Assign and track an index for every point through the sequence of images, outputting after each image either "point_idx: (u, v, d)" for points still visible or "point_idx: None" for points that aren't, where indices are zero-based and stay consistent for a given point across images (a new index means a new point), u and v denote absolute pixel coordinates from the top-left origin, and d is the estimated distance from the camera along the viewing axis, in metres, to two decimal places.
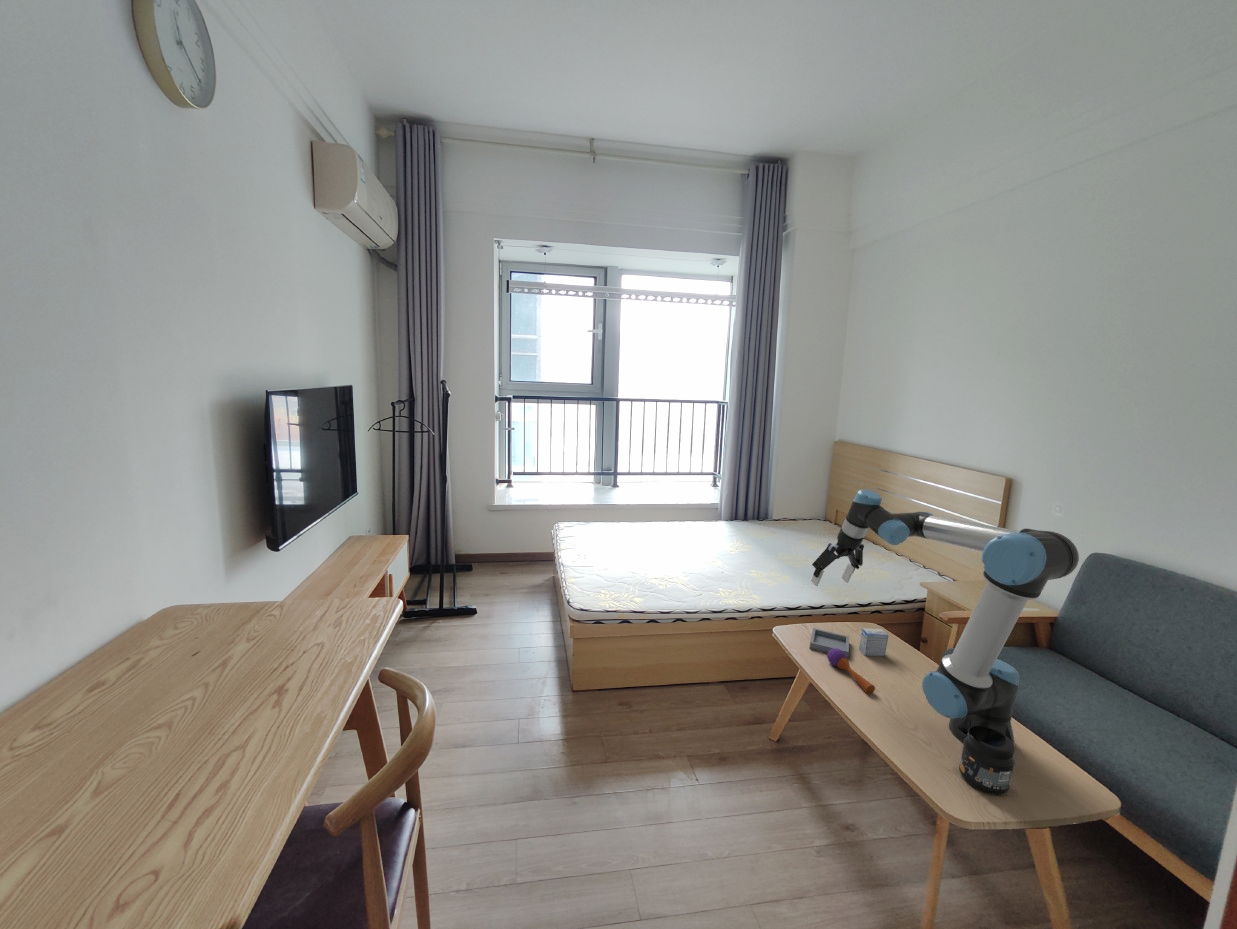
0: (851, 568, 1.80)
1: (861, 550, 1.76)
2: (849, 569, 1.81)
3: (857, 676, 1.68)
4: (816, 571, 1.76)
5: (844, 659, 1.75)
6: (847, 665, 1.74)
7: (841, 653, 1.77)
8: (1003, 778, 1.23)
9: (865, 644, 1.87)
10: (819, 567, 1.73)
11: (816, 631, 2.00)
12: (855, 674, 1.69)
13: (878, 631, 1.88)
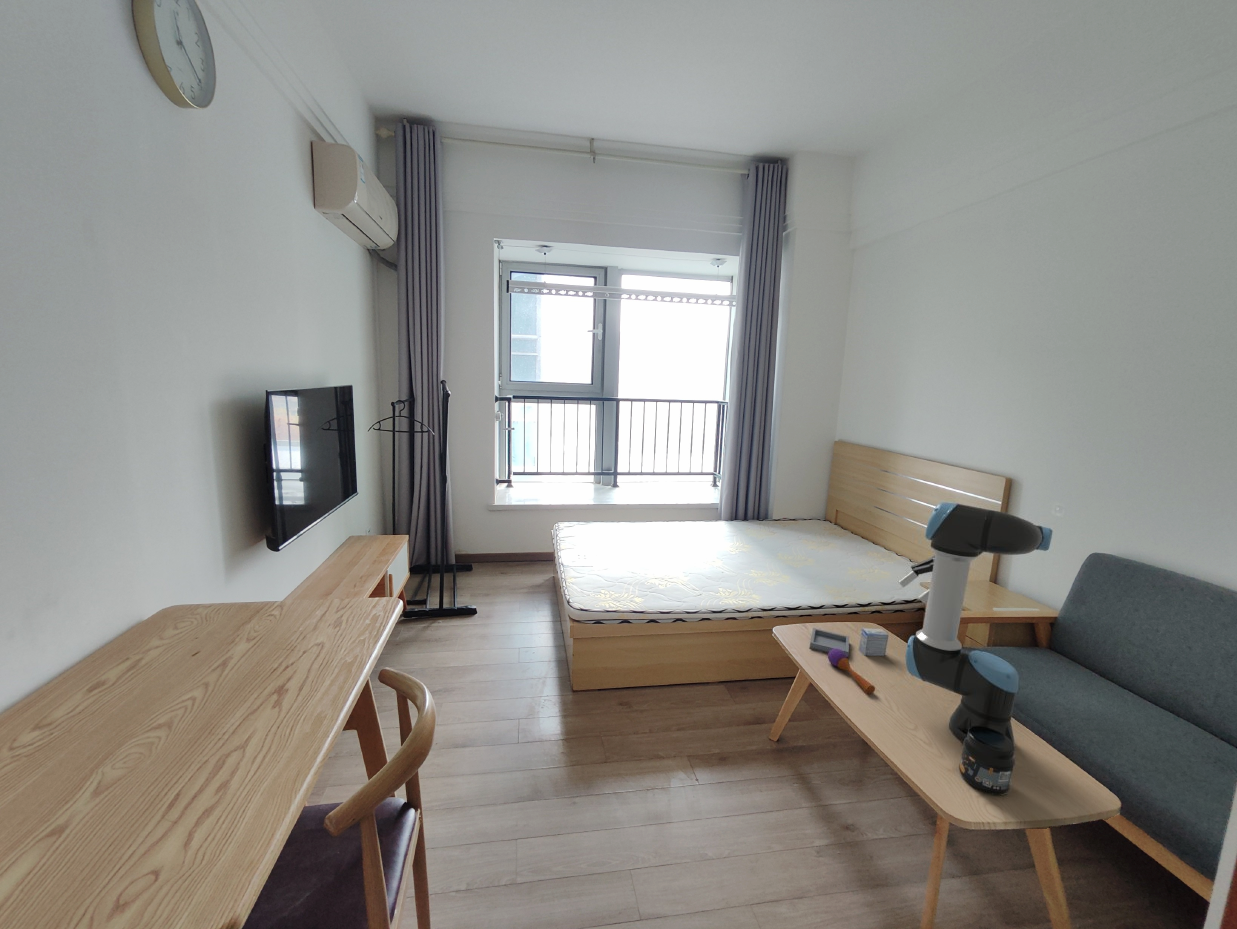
0: None
1: None
2: None
3: (857, 676, 1.68)
4: None
5: (844, 659, 1.75)
6: (847, 665, 1.74)
7: (842, 653, 1.77)
8: (1003, 778, 1.23)
9: (865, 644, 1.87)
10: (913, 565, 1.93)
11: (816, 631, 2.00)
12: (855, 674, 1.69)
13: (878, 631, 1.88)
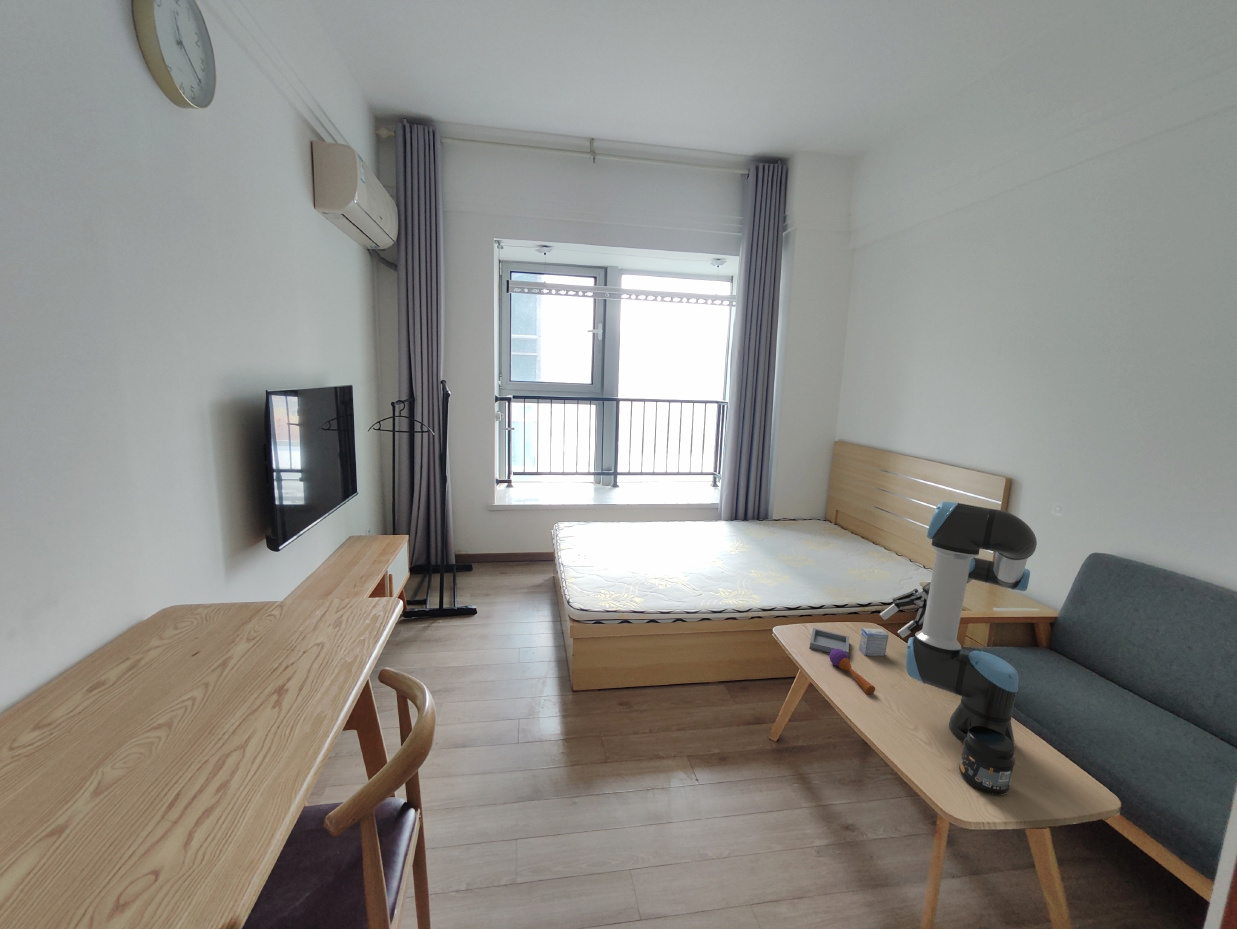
0: None
1: None
2: None
3: (858, 676, 1.68)
4: None
5: (846, 659, 1.75)
6: (848, 665, 1.73)
7: (843, 653, 1.77)
8: (1003, 778, 1.23)
9: (865, 644, 1.87)
10: (894, 598, 1.96)
11: (816, 631, 2.00)
12: (856, 674, 1.69)
13: (878, 631, 1.88)
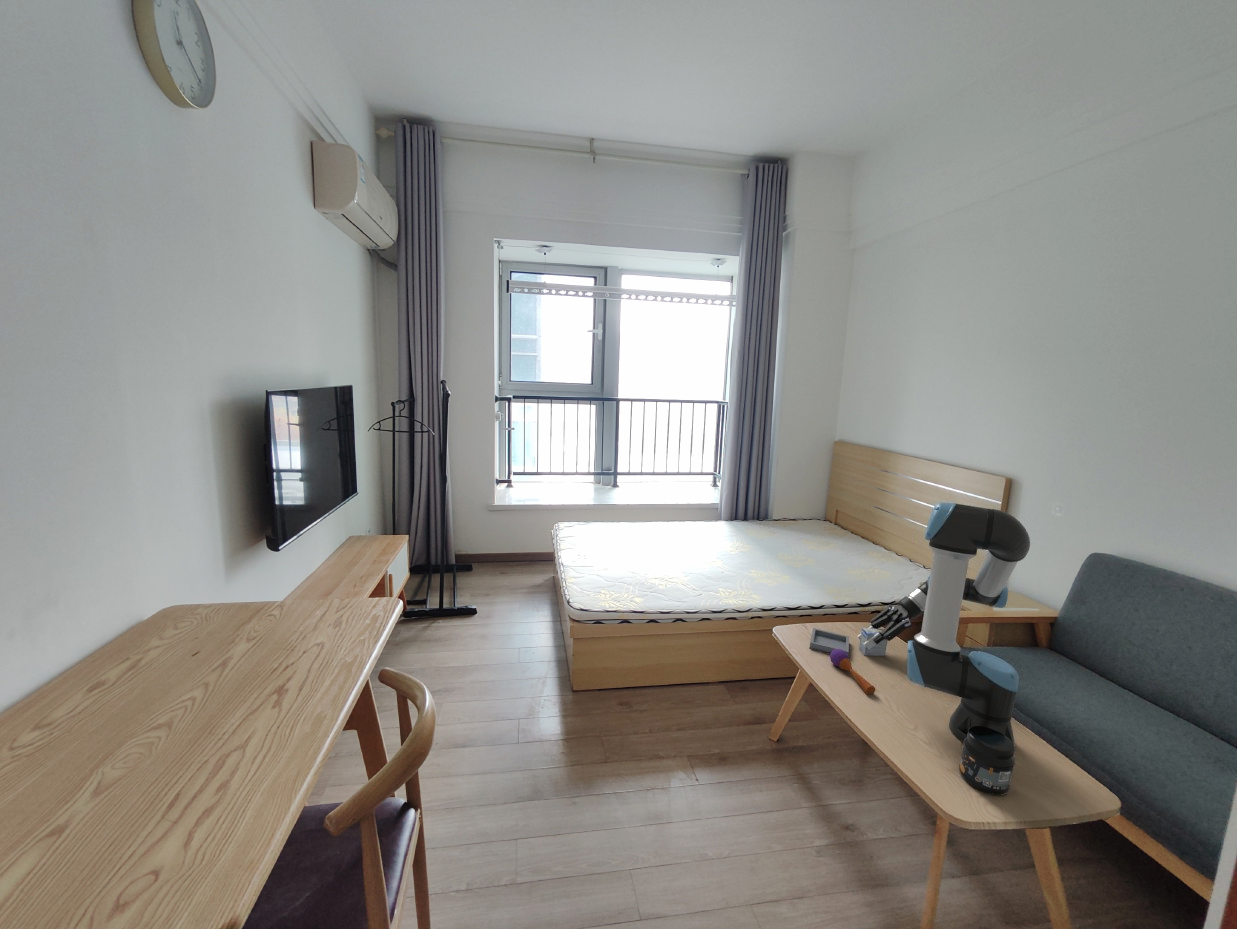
0: None
1: (901, 622, 1.81)
2: None
3: (858, 677, 1.68)
4: None
5: (846, 660, 1.75)
6: (849, 666, 1.73)
7: (843, 654, 1.77)
8: (1003, 778, 1.23)
9: None
10: (872, 619, 1.93)
11: (816, 631, 2.00)
12: (856, 675, 1.69)
13: (878, 631, 1.88)
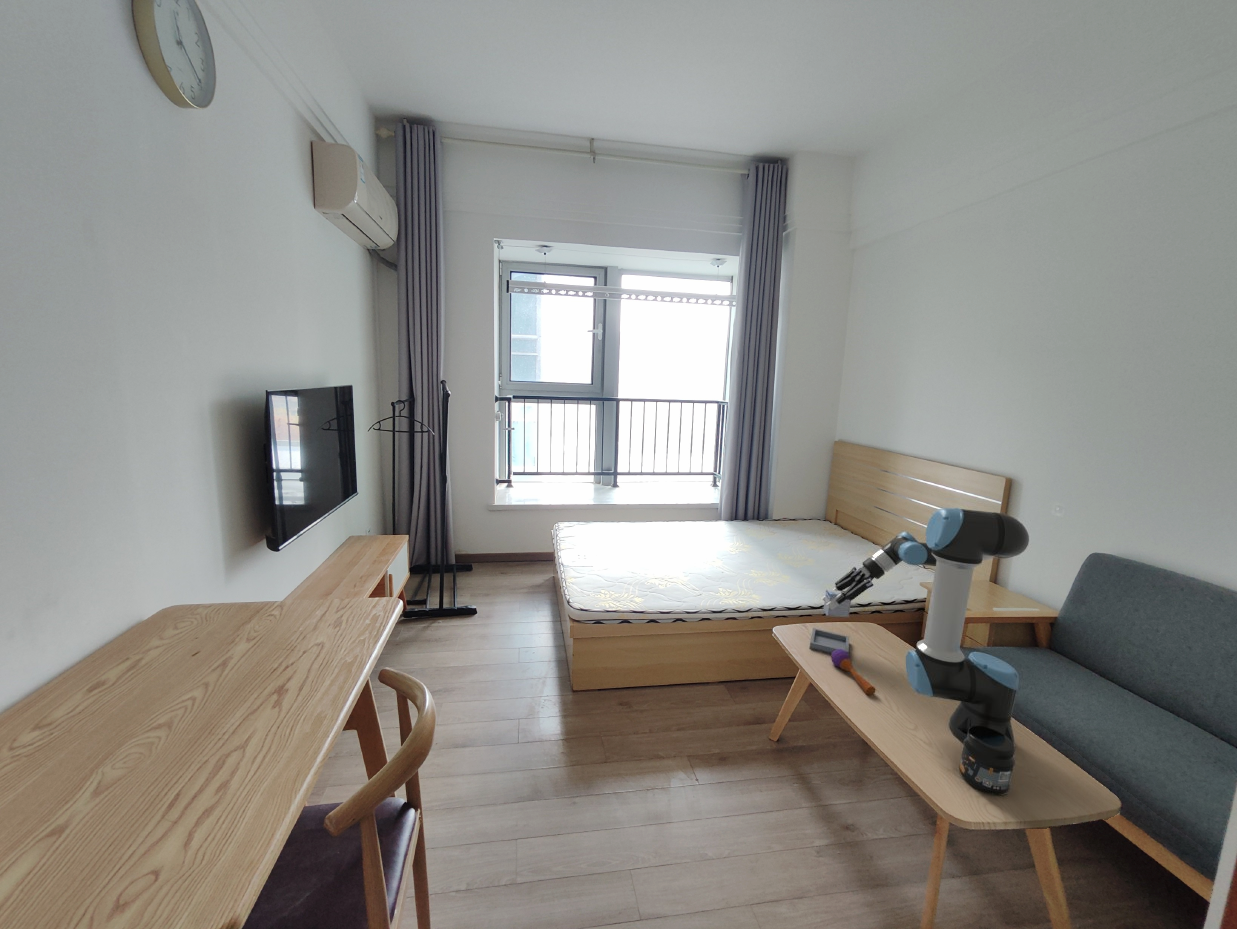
0: None
1: (863, 582, 1.83)
2: None
3: (858, 677, 1.68)
4: None
5: (847, 660, 1.75)
6: (849, 666, 1.73)
7: (844, 654, 1.77)
8: (1003, 778, 1.23)
9: None
10: (837, 582, 1.94)
11: (816, 631, 2.00)
12: (857, 675, 1.69)
13: None
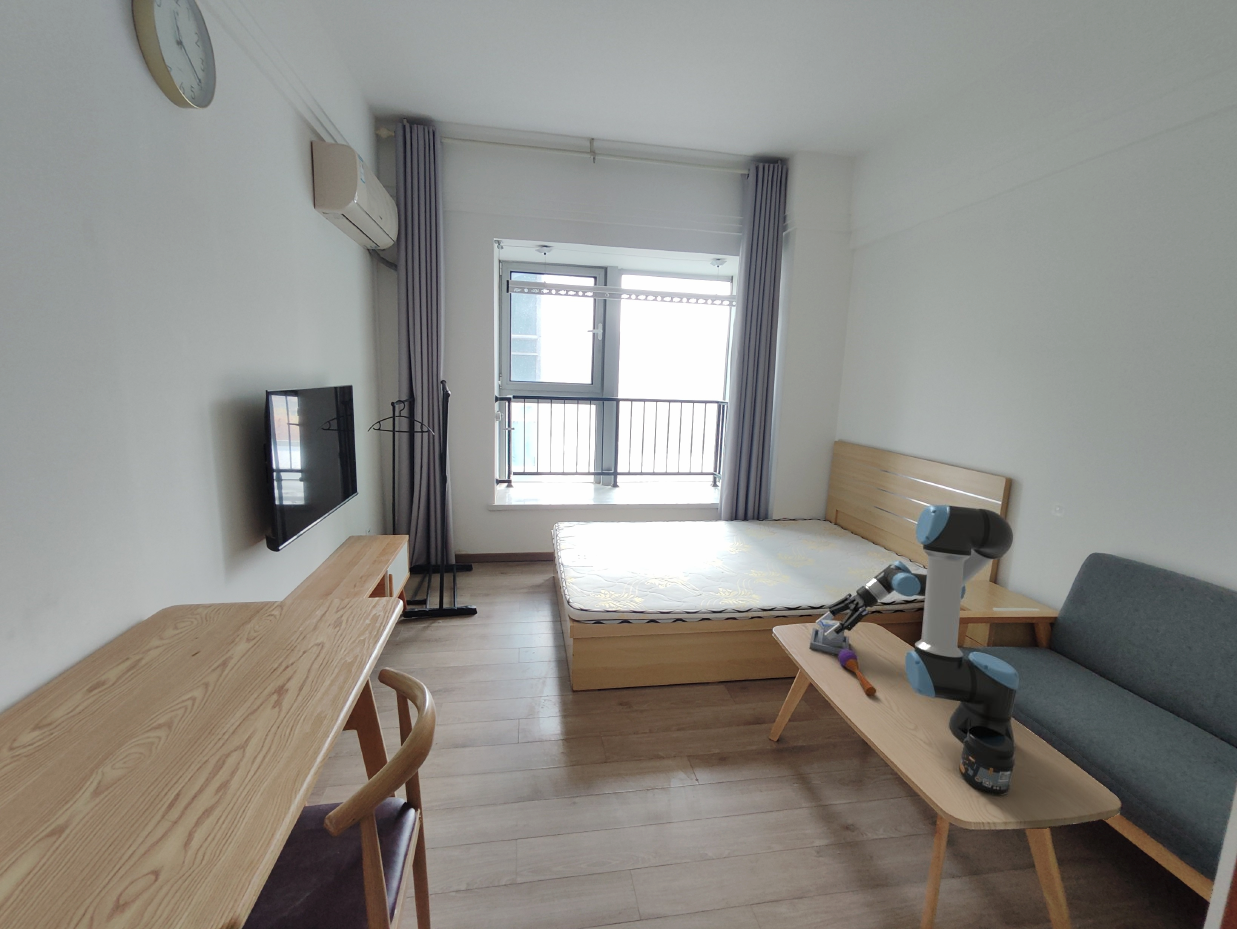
0: None
1: (859, 611, 1.84)
2: None
3: (861, 677, 1.68)
4: None
5: (853, 660, 1.75)
6: (855, 666, 1.73)
7: (851, 654, 1.77)
8: (1003, 778, 1.23)
9: (822, 635, 1.90)
10: (831, 606, 1.98)
11: (816, 631, 2.00)
12: (860, 675, 1.69)
13: (836, 622, 1.91)
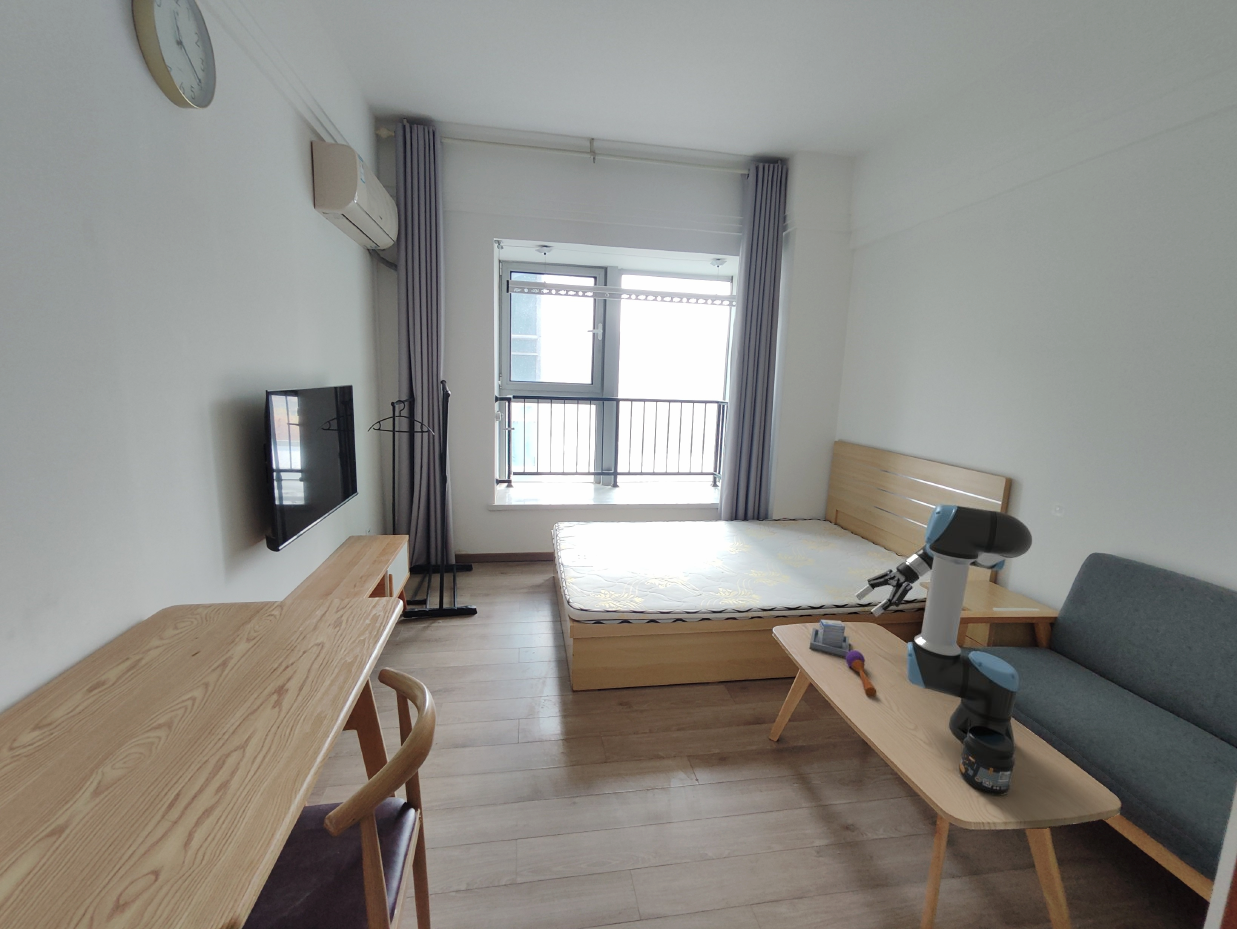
0: None
1: (903, 586, 1.81)
2: None
3: (863, 678, 1.68)
4: None
5: (859, 661, 1.75)
6: (860, 667, 1.73)
7: (858, 655, 1.77)
8: (1003, 778, 1.23)
9: (822, 635, 1.90)
10: (869, 579, 1.98)
11: (816, 631, 2.00)
12: (863, 676, 1.69)
13: (836, 622, 1.91)
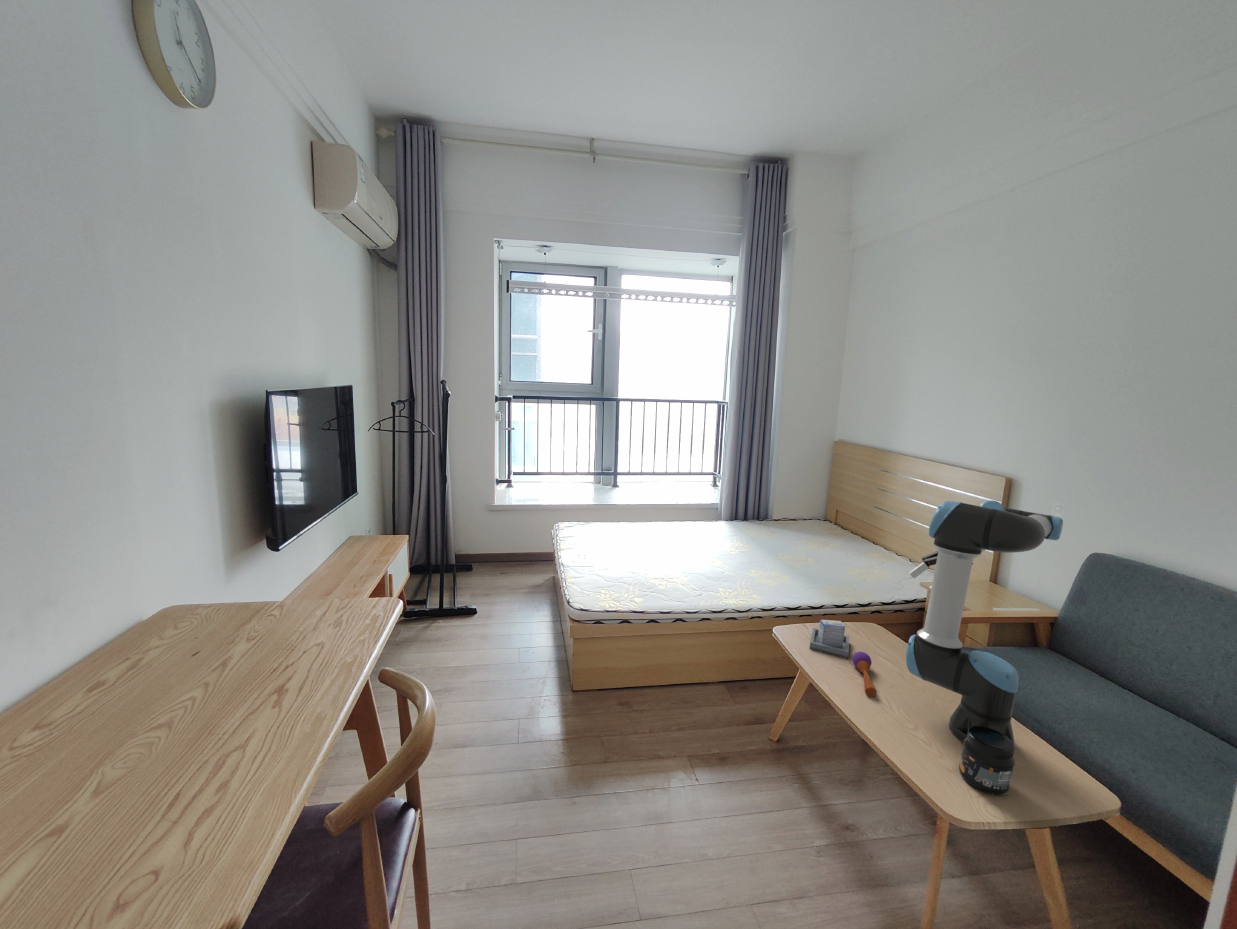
0: None
1: None
2: None
3: (866, 678, 1.67)
4: None
5: (864, 662, 1.74)
6: (864, 668, 1.72)
7: (864, 657, 1.76)
8: (1003, 778, 1.23)
9: (822, 635, 1.90)
10: (924, 557, 1.94)
11: (816, 631, 2.00)
12: (865, 676, 1.68)
13: (836, 622, 1.91)
